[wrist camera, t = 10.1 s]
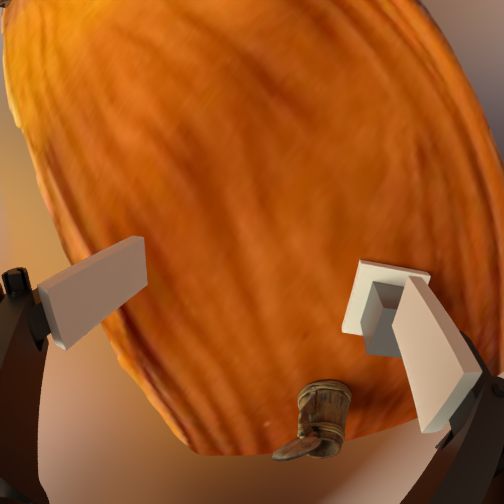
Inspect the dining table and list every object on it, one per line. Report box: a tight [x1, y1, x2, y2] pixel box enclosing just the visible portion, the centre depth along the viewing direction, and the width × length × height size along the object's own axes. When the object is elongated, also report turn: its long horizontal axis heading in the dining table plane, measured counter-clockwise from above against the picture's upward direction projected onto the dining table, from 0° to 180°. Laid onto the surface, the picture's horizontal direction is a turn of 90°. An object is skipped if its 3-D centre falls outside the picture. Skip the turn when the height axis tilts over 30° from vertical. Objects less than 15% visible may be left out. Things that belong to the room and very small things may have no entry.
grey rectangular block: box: [360, 281, 404, 358], centre depth 29 cm, size 6×6×8 cm
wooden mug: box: [272, 380, 352, 461], centre depth 32 cm, size 9×14×18 cm, turn 33°
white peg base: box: [342, 260, 431, 335], centre depth 31 cm, size 10×10×6 cm
